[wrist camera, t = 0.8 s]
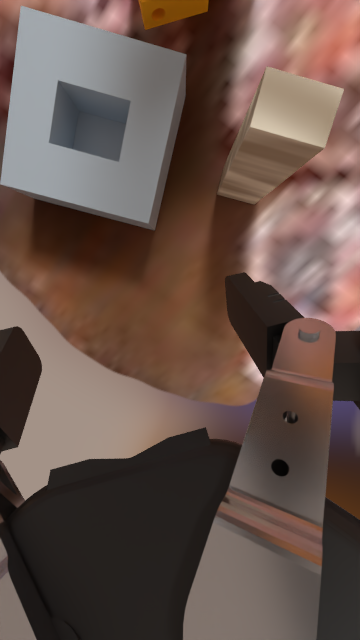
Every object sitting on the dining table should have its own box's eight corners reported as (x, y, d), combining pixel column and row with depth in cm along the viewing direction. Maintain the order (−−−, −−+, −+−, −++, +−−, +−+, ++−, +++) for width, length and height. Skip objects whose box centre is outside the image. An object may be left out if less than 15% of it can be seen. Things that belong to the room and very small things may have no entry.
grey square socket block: (53, 57, 29) (21, 5, 23) (185, 95, 29) (186, 54, 24) (34, 198, 32) (0, 184, 26) (154, 230, 32) (148, 223, 26)
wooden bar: (224, 166, 31) (266, 66, 15) (262, 176, 31) (343, 89, 15) (216, 194, 31) (250, 126, 16) (254, 204, 32) (324, 147, 16)
